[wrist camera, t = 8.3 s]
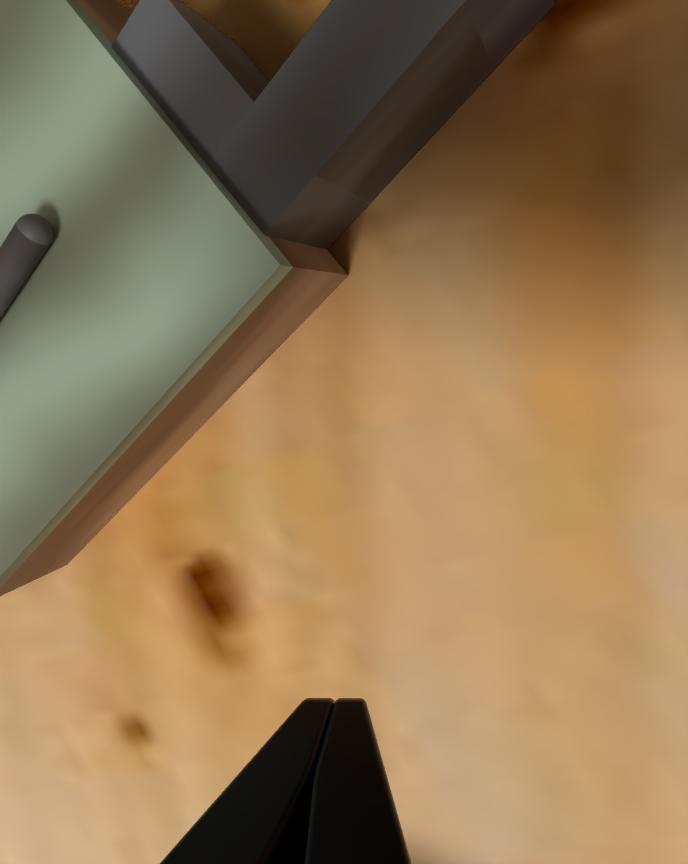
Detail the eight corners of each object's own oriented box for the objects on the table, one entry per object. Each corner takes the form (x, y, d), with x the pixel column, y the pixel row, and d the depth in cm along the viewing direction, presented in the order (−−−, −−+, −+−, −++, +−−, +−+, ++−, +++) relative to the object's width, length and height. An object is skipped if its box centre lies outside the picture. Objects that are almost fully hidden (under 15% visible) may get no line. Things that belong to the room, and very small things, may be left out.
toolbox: (583, 34, 16) (574, -97, 11) (66, 564, 27) (-57, 622, 22) (300, -269, 17) (174, -511, 12) (-81, 356, 28) (-229, 365, 23)
